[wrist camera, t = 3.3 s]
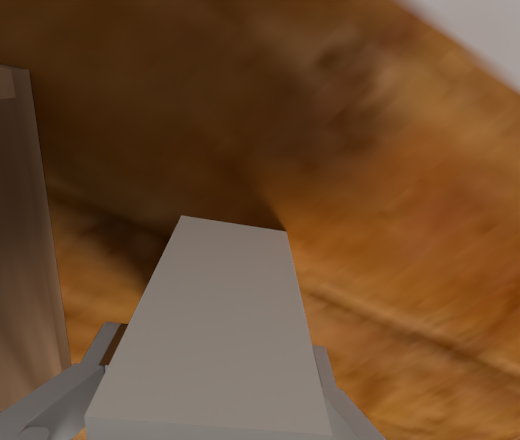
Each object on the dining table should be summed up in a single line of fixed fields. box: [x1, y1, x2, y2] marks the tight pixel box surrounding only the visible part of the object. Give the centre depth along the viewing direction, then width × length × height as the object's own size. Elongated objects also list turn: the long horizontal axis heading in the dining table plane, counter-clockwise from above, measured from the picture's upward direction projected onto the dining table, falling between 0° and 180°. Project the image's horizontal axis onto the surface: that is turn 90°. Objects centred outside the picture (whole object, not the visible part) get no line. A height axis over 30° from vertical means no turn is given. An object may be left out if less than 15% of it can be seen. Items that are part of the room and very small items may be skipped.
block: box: [84, 215, 332, 440], centre depth 10 cm, size 4×6×8 cm
